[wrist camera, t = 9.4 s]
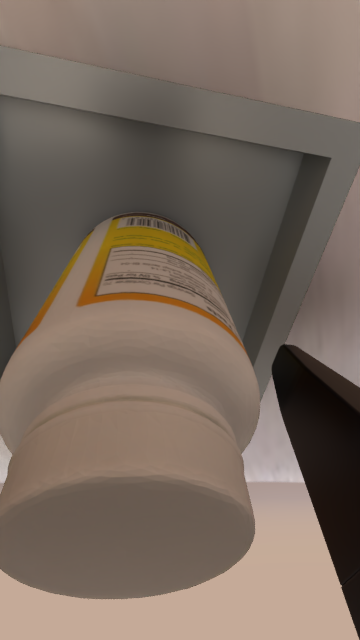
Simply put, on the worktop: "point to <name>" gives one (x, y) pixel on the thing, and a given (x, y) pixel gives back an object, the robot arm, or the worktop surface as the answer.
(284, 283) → the tray
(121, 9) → the worktop surface
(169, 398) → the supplement bottle
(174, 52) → the worktop surface
